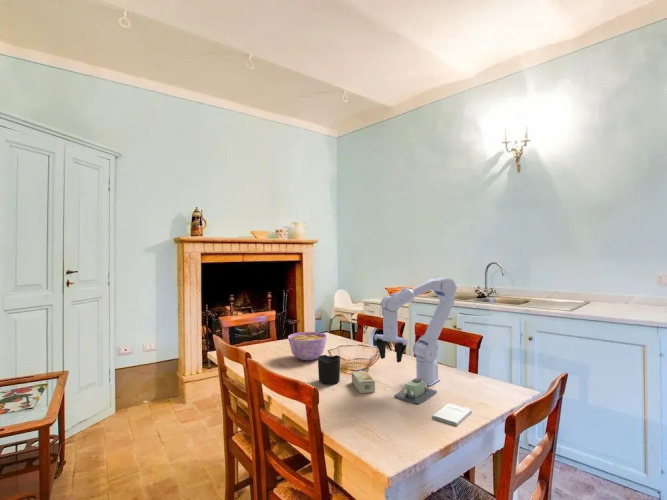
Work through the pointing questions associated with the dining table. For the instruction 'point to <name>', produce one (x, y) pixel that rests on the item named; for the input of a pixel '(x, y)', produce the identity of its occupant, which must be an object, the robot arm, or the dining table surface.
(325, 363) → the pen holder
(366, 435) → the dining table surface
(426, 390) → the plate
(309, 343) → the bowl of food
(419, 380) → the green block
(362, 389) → the skincare box
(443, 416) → the external hard drive
